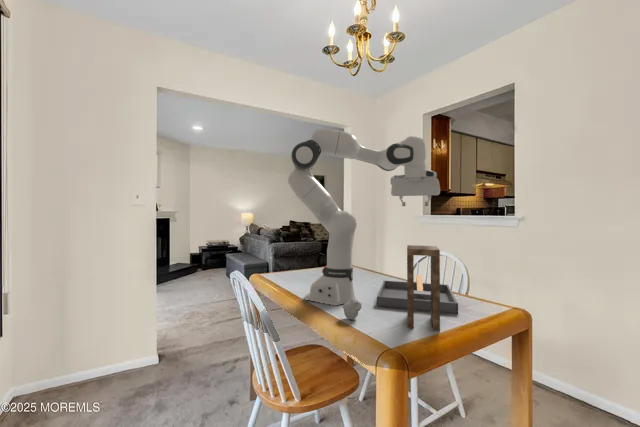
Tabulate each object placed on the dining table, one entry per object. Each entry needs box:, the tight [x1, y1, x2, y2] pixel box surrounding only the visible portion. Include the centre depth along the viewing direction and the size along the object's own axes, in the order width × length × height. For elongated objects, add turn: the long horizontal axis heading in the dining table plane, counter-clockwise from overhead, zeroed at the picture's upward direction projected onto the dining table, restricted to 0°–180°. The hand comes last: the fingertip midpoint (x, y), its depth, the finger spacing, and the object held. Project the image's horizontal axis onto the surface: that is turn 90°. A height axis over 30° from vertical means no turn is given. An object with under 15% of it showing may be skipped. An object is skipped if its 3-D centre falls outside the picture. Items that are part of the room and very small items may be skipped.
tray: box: [376, 280, 459, 315], centre depth 126 cm, size 30×30×4 cm
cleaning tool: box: [414, 274, 431, 301], centre depth 132 cm, size 9×22×3 cm, turn 162°
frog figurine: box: [341, 299, 363, 321], centre depth 102 cm, size 6×7×7 cm
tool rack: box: [406, 244, 441, 332], centre depth 98 cm, size 10×12×26 cm
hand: (415, 206), depth 124 cm, fingers open, 8 cm apart
